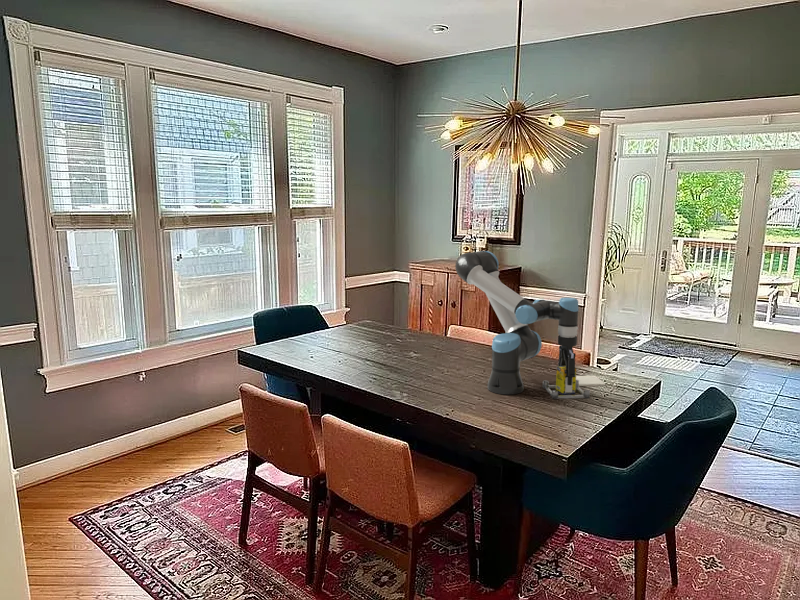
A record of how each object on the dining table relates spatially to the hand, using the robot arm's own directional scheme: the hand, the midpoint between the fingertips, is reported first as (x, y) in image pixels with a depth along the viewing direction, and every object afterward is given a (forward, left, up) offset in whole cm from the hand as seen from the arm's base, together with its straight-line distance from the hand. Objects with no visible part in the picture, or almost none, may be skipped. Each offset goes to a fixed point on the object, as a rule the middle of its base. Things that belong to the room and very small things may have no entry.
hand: (565, 389), depth 229 cm
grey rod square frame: (0, 0, -2) cm, 2 cm away
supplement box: (0, 0, -2) cm, 2 cm away
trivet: (+14, +14, -2) cm, 20 cm away
